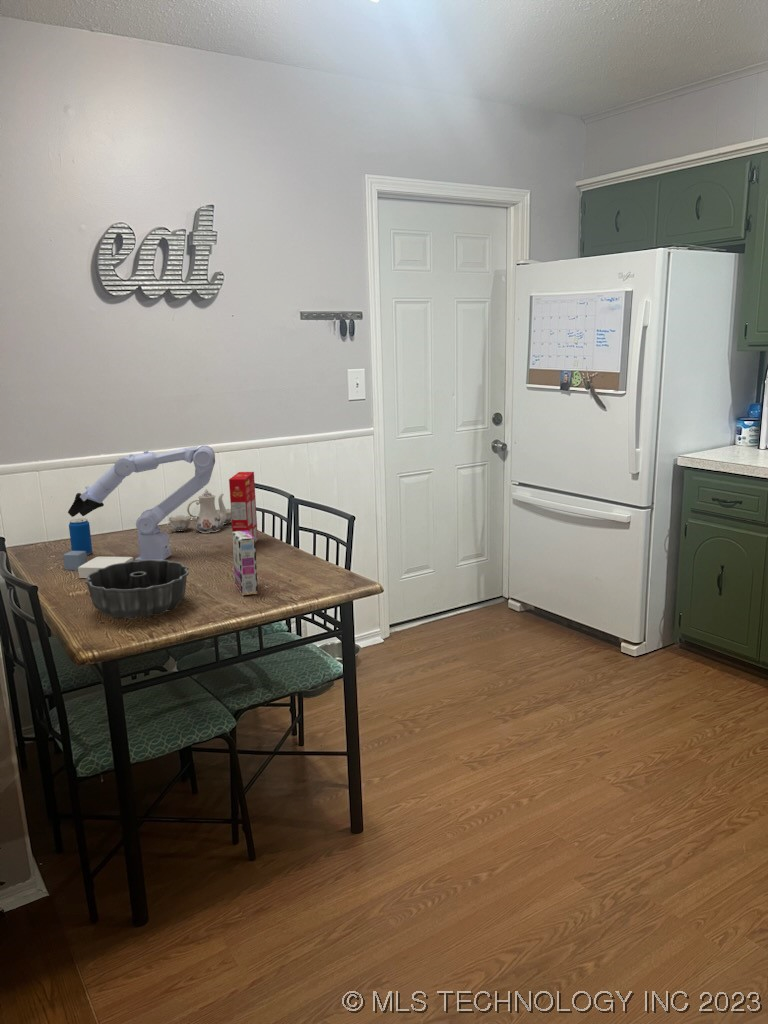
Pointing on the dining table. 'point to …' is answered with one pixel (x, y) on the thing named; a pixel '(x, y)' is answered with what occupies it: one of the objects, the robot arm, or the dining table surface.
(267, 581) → the dining table surface
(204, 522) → the chinaware
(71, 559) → the blue cube
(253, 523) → the food packaging
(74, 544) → the beverage can
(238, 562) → the candy bar box
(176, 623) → the dining table surface
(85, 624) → the dining table surface
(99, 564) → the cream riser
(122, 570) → the bundt pan
